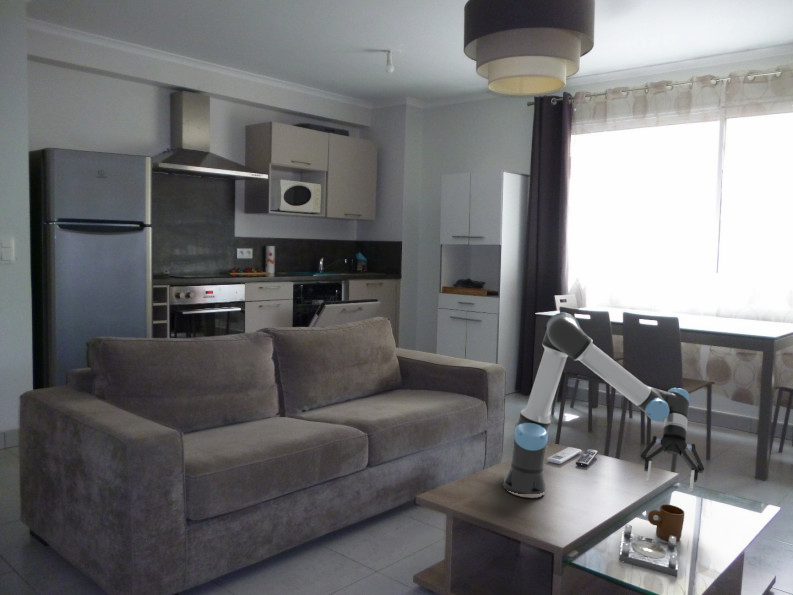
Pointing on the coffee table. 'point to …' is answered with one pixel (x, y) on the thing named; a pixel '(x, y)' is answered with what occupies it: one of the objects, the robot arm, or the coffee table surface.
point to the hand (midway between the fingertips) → (669, 485)
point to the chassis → (649, 552)
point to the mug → (668, 521)
